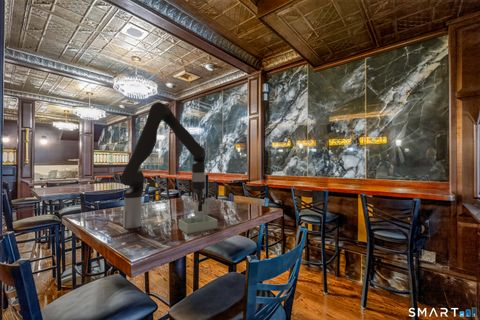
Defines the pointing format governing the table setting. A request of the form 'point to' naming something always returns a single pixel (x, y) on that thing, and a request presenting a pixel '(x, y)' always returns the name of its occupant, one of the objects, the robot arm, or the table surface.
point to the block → (197, 219)
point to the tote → (197, 225)
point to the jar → (196, 206)
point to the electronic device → (206, 204)
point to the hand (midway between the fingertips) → (198, 210)
